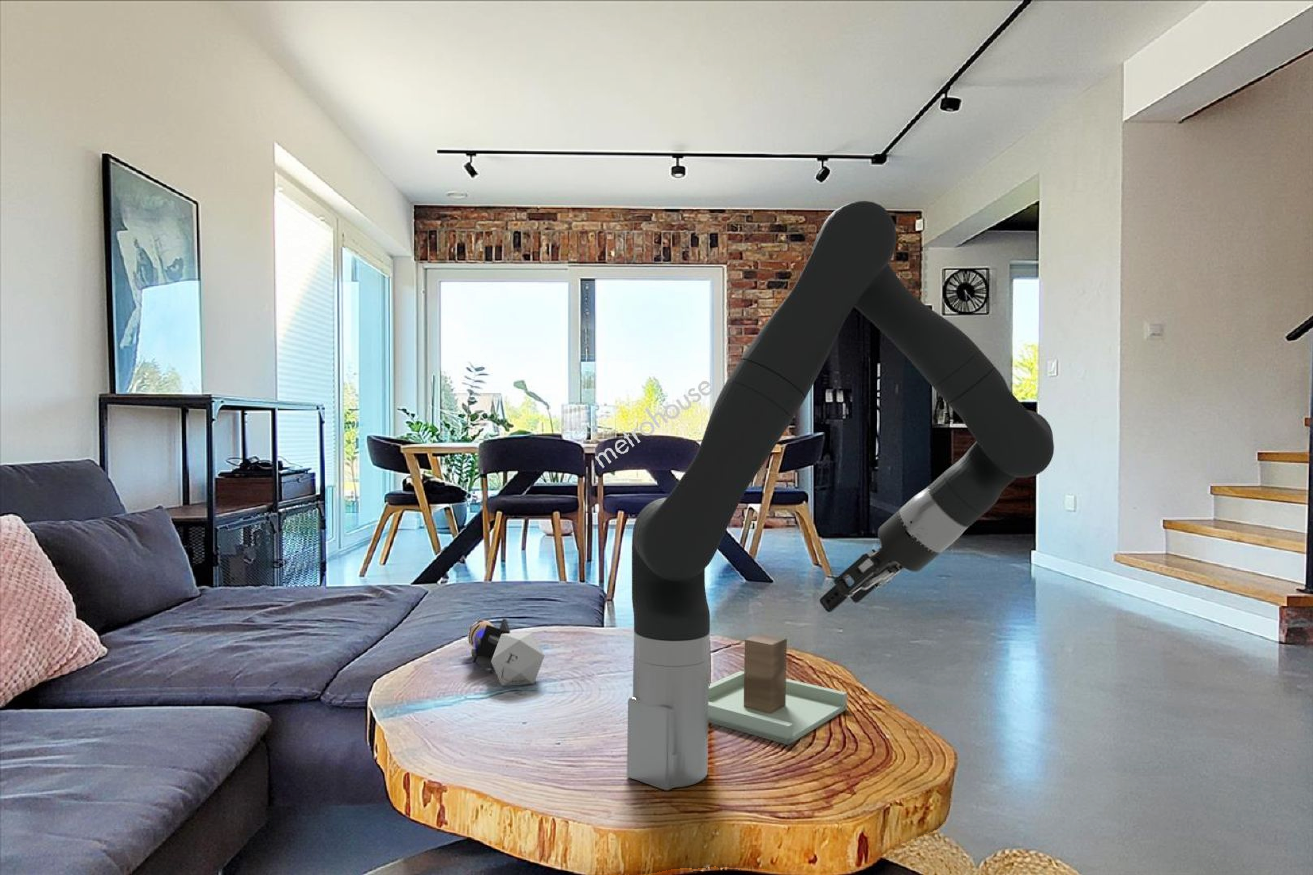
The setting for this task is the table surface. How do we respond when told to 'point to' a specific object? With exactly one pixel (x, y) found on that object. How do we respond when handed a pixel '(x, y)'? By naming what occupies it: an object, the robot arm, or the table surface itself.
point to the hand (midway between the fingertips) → (838, 601)
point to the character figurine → (485, 641)
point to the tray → (784, 725)
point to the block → (765, 673)
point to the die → (517, 659)
